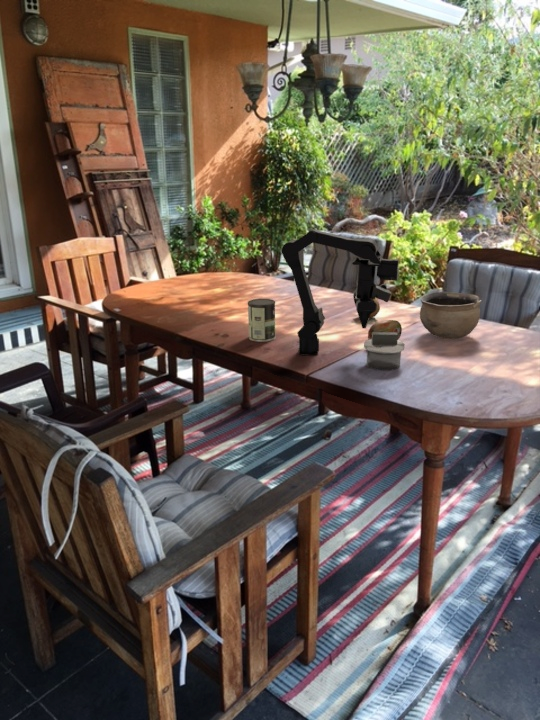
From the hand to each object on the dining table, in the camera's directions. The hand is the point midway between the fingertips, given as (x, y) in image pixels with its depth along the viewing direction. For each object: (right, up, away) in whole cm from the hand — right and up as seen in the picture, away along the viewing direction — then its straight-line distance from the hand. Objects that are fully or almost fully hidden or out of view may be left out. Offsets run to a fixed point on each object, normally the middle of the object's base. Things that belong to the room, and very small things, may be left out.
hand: (362, 324), depth 203 cm
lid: (+6, -8, -6) cm, 11 cm away
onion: (+10, +5, +50) cm, 52 cm away
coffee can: (-34, -4, +26) cm, 43 cm away
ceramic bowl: (+36, -3, +25) cm, 44 cm away
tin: (+10, -6, +17) cm, 21 cm away
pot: (+6, -13, -1) cm, 14 cm away
